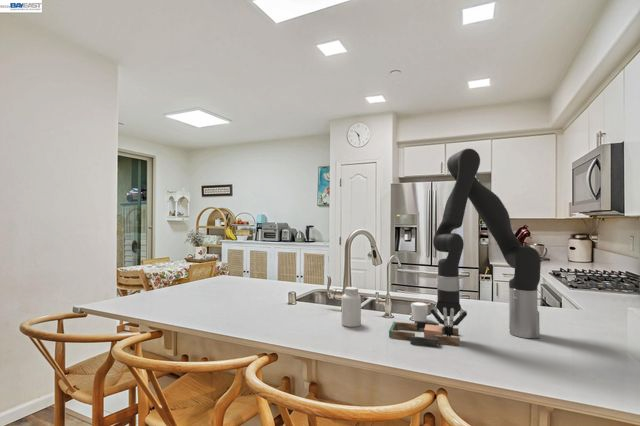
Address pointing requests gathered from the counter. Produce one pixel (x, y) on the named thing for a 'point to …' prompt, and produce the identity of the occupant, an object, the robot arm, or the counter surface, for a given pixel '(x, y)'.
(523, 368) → the counter surface
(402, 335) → the trap lane
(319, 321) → the counter surface
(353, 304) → the pill bottle
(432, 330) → the terracotta block
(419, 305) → the white tapered cylinder
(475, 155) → the robot arm
